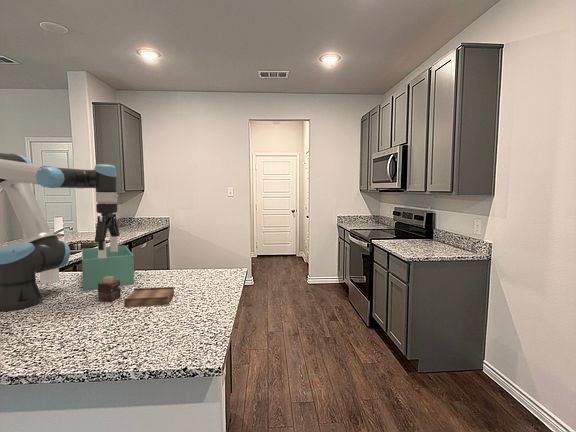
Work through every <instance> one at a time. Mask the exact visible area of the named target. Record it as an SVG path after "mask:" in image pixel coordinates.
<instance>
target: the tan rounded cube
mask: <svg viewBox="0 0 576 432" xmlns="http://www.w3.org/2000/svg"><path fill="white" fill-rule="evenodd" d="M113 281H114V276H106V277H104V278H103V283H112V282H113Z"/></svg>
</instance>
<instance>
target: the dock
mask: <svg viewBox="0 0 576 432" xmlns="http://www.w3.org/2000/svg"><path fill="white" fill-rule="evenodd" d="M174 295H175V287H174V286H169V287H168V286H166V287H163V286H162V287H161V286H160V287H143V288H142V287H141V288H140V287H139V288H134V289H133V291H132V292H131V293H130V294H129V295H128V296H127V297H126V298H124V299H123V300H124V301H123V303H124V304H123V305H124V308H132V307H133V308H134V307H135V308H136V307H151V306H154V307H155V306H169V304H170V302H171V300H172V298H173V297H174Z"/></svg>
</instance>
